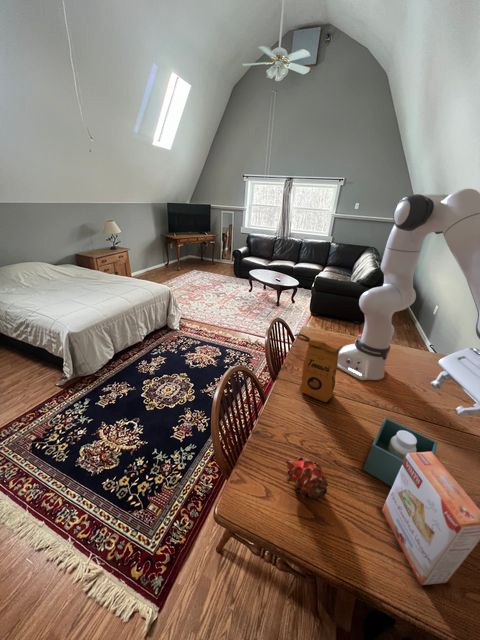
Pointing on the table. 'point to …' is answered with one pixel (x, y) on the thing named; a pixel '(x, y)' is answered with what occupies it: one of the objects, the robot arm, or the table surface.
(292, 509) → the table surface
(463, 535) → the cracker box
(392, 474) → the trash bin
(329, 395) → the coffee package
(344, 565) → the table surface
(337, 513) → the table surface
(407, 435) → the pill bottle
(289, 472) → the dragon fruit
